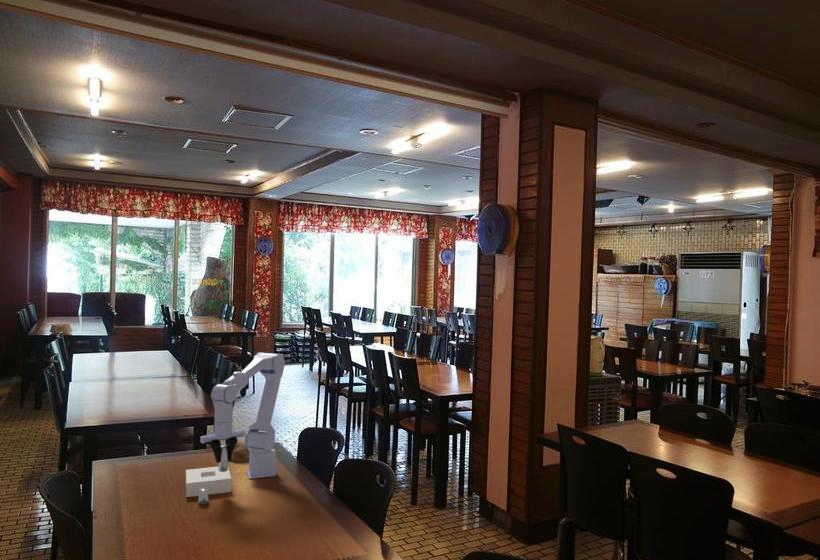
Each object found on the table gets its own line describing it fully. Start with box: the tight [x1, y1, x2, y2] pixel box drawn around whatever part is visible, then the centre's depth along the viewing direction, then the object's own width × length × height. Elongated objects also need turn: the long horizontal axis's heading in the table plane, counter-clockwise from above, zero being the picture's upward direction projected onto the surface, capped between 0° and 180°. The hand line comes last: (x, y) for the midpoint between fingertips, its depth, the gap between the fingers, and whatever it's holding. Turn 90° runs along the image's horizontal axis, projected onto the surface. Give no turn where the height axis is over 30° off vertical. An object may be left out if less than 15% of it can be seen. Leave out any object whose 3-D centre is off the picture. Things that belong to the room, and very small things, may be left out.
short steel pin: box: [197, 488, 209, 505], centre depth 186 cm, size 3×3×4 cm
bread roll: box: [231, 441, 249, 462], centre depth 231 cm, size 10×10×8 cm
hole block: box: [185, 466, 232, 498], centre depth 199 cm, size 14×14×4 cm
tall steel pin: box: [218, 444, 229, 472], centre depth 195 cm, size 3×3×8 cm
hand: (223, 461), depth 195 cm, fingers closed on tall steel pin, 3 cm apart
